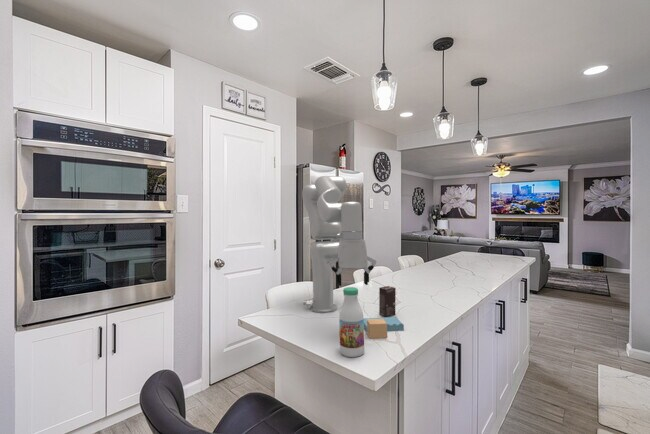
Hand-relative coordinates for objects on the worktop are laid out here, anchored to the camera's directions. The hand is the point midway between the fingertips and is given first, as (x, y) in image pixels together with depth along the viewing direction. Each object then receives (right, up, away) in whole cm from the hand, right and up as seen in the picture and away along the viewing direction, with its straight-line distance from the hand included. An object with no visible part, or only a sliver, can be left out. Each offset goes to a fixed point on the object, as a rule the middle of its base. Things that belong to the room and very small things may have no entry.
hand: (352, 284), depth 104 cm
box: (+17, -19, +22) cm, 34 cm away
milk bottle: (-1, -19, -12) cm, 22 cm away
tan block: (+9, -18, 0) cm, 20 cm away
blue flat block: (+12, -18, +9) cm, 24 cm away
